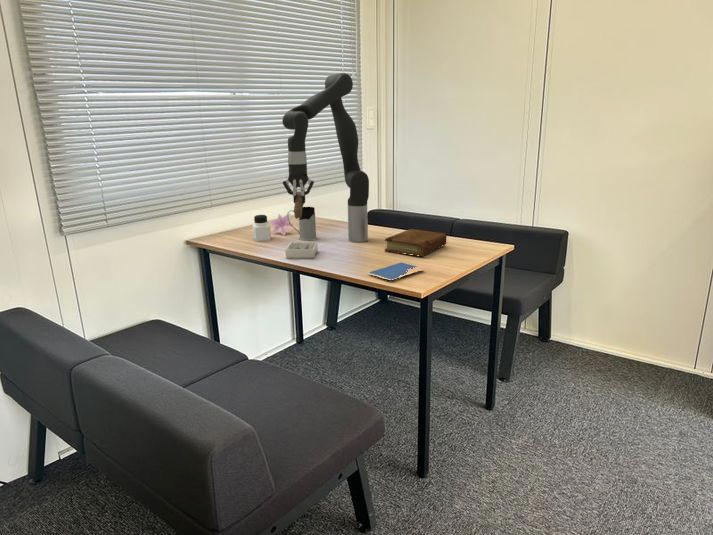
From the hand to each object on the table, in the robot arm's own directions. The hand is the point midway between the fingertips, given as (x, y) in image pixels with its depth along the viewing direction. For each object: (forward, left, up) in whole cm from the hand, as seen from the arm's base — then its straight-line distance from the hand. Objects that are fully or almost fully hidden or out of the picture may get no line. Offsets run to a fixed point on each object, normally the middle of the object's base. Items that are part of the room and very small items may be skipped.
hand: (299, 204), depth 212 cm
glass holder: (+4, -28, -22) cm, 36 cm away
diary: (-50, -11, -23) cm, 56 cm away
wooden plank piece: (0, +7, -3) cm, 7 cm away
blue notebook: (-40, +24, -23) cm, 52 cm away
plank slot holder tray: (0, 0, -22) cm, 22 cm away
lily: (+16, -40, -23) cm, 49 cm away
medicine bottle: (+23, -26, -22) cm, 42 cm away
